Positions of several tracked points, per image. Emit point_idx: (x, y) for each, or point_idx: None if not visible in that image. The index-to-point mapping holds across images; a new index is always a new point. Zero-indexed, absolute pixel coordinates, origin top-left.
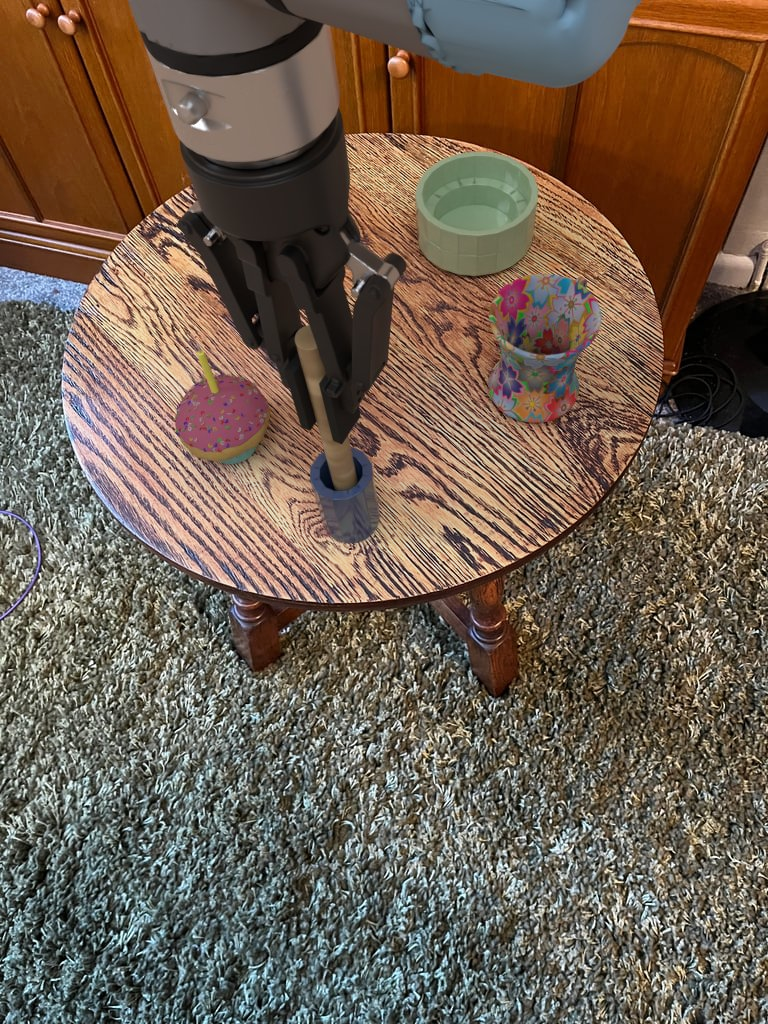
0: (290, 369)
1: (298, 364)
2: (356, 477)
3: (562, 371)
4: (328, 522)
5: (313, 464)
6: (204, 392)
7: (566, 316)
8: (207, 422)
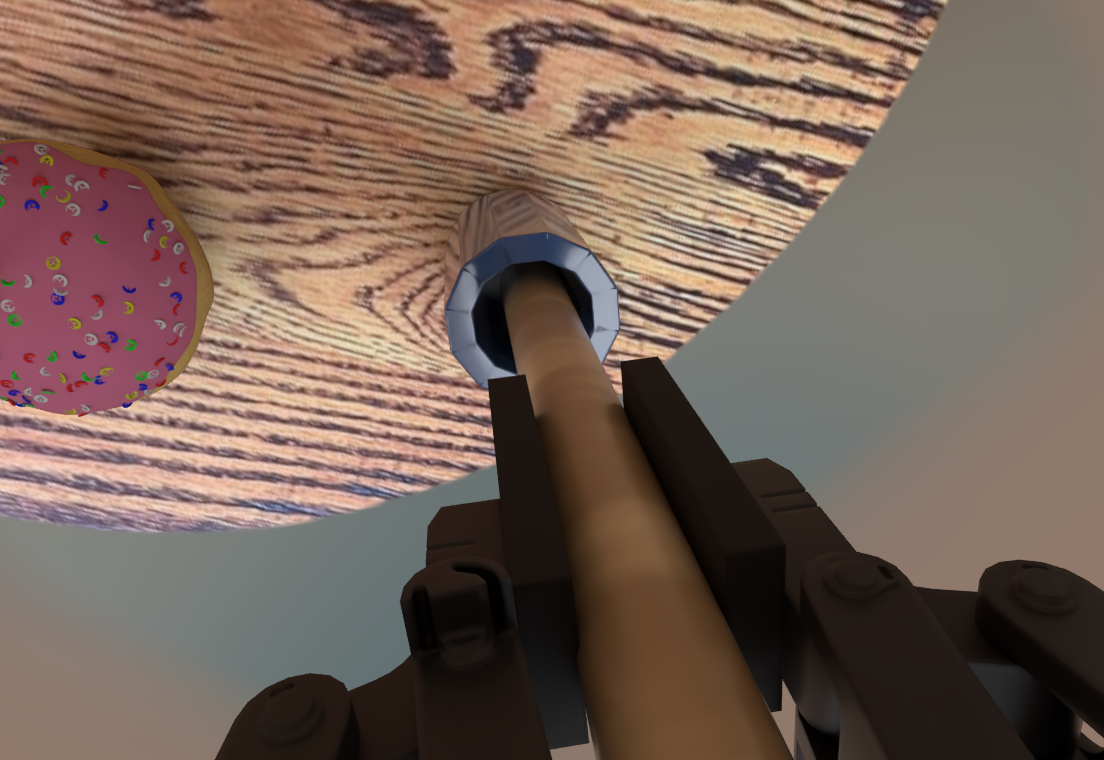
0: (560, 735)
1: (578, 703)
2: (569, 297)
3: None
4: None
5: (454, 343)
6: None
7: None
8: (69, 369)
